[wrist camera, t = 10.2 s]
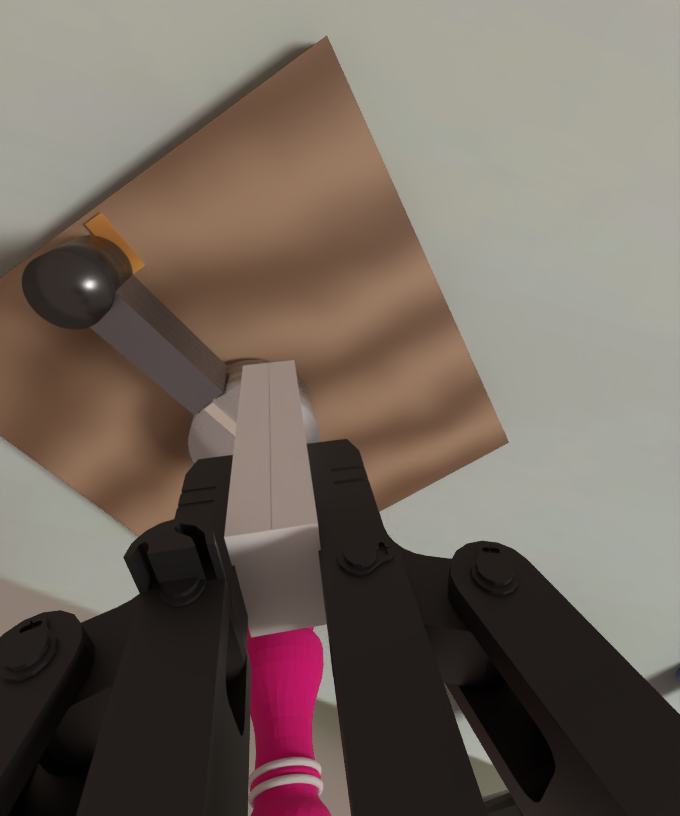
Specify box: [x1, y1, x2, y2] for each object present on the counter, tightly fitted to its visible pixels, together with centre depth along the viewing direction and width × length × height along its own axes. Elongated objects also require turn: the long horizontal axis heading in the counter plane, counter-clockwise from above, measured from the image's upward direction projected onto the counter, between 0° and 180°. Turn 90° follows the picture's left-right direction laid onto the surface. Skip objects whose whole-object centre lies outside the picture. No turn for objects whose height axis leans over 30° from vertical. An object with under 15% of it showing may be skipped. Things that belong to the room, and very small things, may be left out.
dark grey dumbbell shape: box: [22, 235, 320, 464], centre depth 22 cm, size 16×7×4 cm, turn 36°
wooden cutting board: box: [0, 36, 509, 536], centre depth 27 cm, size 26×26×2 cm
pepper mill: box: [247, 627, 331, 816], centre depth 31 cm, size 7×7×20 cm
